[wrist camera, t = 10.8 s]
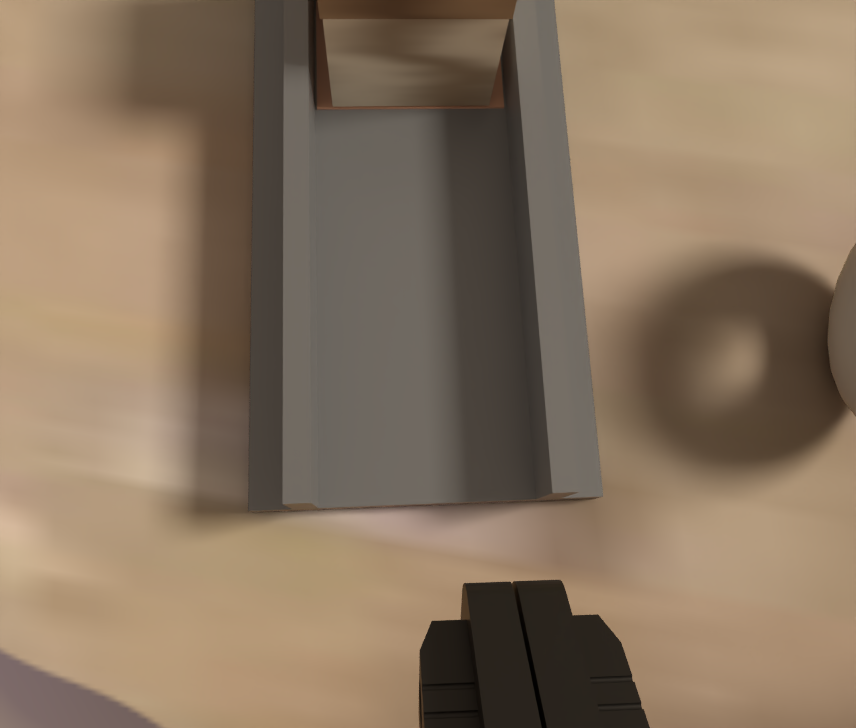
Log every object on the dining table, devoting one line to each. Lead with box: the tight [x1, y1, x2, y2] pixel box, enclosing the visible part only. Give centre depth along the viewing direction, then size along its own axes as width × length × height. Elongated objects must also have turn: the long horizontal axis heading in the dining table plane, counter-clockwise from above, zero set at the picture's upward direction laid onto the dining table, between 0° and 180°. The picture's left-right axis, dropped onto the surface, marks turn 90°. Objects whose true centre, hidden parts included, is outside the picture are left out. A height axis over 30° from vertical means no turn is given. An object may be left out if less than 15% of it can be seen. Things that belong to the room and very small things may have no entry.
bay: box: [248, 0, 603, 512], centre depth 32 cm, size 14×26×5 cm, turn 2°
